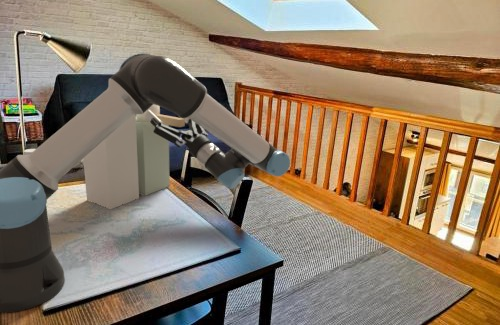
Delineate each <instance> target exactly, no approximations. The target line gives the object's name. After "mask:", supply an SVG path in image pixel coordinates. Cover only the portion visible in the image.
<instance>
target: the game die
mask: <svg viewBox="0 0 500 325" xmlns="http://www.w3.org/2000/svg"><path fill="white" fill-rule="evenodd" d="M78 168H84V161H83V159H82V160H81V161H80V162H79V163H77V164H76V165H75V166H74V167H73V168H72V169H71V170H72V171H74V170H75V169H78Z"/></svg>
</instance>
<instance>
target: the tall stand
mask: <svg viewBox="0 0 500 325" xmlns="http://www.w3.org/2000/svg"><path fill="white" fill-rule="evenodd" d="M80 112H81V111H79V112H78V113H80ZM83 161H84V167H83V170H84V171H83V172H84V180H85V182H84V183H85V192H86V201H88V200H89V201H88V202H90V201H92V202H91V203H93V202H94V203H93V204H95V203H97V204H96V205H98V204H99V205H98V206H100V205H101V207H103V206H104V208H105V207H106V208H105V209H108V210H112V209H115V208H117V206H118V207H120V206H123V205H125V204H127V203H130V202H133V201H136V200H138V199H140V193H139V184H138V161H137V138H136V114H133V115H132V116H131V117H129V118H128V119H127V120H126V121H125V122H124V123H123V124H122V125H120V126H119V127H118V128H117V129H116V130H115V131H114V132H112V133H111V134H110V135H109V136H108V137H107V138H106V139H105V140H103V141H102V142H101V143H100V144H99V145H98V146H97V147H96V148H94V149H93V150H92V151H91V152H90V153H89V154H88V155H86V156H85V157H84V158H83ZM135 199H136V200H135ZM122 204H123V205H122ZM114 207H115V208H114Z"/></svg>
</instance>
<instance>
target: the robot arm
mask: <svg viewBox="0 0 500 325" xmlns="http://www.w3.org/2000/svg"><path fill="white" fill-rule="evenodd" d="M153 104H155V105H158V106H160V107H161V108H163V109H164V110H168V111H170V112H171V113H174V114H175V115H177V116H178V118H183V119H185V124H187V125H188V129H189V130H182V129H179V130H178V129H176V128H173V127H172V126H170V125H169V126H166V125H164V124H162V121H161V120H160V119H159V118H158V117H157V116H156V115H155V114H154V113H153V112H151V111H150V110H148V109H149V108H150V107H151V106H152V105H153ZM146 110H148V111H147V114H146V116H145V117H146V118H147V119H148V120H149V121H150V122H151V124H152V125H153V126H154V127H155V129H154V131H153V132H154V133H155V134H157V135H159V136H161V137H162V138H164V139H166V140H168V141H169V143H172V144H174V146H176V147H177V148H179V149H180V148H182V146H183V145H184V146H186V147H187V150H188V153H189V154H191V155H192V156H193V157H194V158H195V159H196V160H197V161H198V163H200V164H201V165H202V166H203V168H205V169H206V170H207V171H208V172H209V173H210V174H211V175H212V176H214V178H215V179H216V180H217V182H219V183H221V184H222V185H223V186H224V187H225V188H227V189H229V190H230V189H234V188H235V187H237V186H238V185H239V184H240V183H241V182H242V181H243V179H244V177H245V175H246V174H245V172H244V169H245V168H246V167H248V165H251V166H252V167H255V168H256V169H257V168H258V169H259V170H261V171H263V172H265V173H267V174H268V175H270V176H273V177H278V178H279V177H282V176H284V175H285V174H286V173H287V172H288V170H289V168H290V165H291V159H290V156H289V155H288V153H286V152H284V151H283V150H280V149H277V148H276V147H275V146H273V145H272V144H270V143H269V142H268V141H267V140H265V138H263V137H262V136H261V135H260V134H259V133H257V132H256V131H254V130H253V129H252V128H250V126H249V125H247V124H246V123H245V122H243V121H242V120H241V119H239V118H238V117H237V116H236V115H234V114H233V113H232V112H231V111H229V110H228V109H227V108H226V107H225V106H224V105H223V104H221V103H220V102H218V101H217V100H216V99H214V98H213V97H212V96H211V95H209V93H208V89H207V88H206V86H205V85H204V84H203V83H202V82H200V81H199V80H197V79H196V77H195V76H193V75H192V74H191V73H190V72H188V70H186V69H185V68H184V67H183V66H181V65H180V64H179V63H177V62H176V61H175V60H173V59H172V58H169V57H167V56H164V55H163V56H162V55H155V54H154V55H153V54H149V53H137V54H134V55H131V56H128V58H126V59H125V60H124V61H123V62H121V65H120V67H119V69H118V71H117V72H115V73H114V74H113V75H111V76H110V78H108V87H107V88H106V90H104V91H103V92H102V93H101V94H100V95H99V96H97V97H96V98H95V99H93V101H91V102H90V103H89V104H88V105H87V106H85V107H84V108H83V109H81V111H79V112H80V113H79V112H78V113H77V114H76V115H75V116H73V117H72V118H71V119H70V120H69V121H68V122H66V123H65V124H64V125H63V126H62V127H61V128H59V129H58V130H57V131H56V132H55V133H53V134H52V135H51V136H50V137H48V139H46V140H45V141H44V142H43V143H41V144H40V145H39V146H38V147H36V148H35V149H36V150H34V151H33V152H32V153H31V154H29V155H24V154H17V155H16V156H15V157H14V158H13V159H11V160H10V161H9V162H8V163H7V164H5V165H1V166H0V313H14V312H15V313H16V312H21V311H26V310H29V309H32V308H34V307H37V306H40V305H42V304H43V303H45V302H47V301H49V300H51V299H52V298H53V297H55V296H56V295H57V294H58V293H59V292H60V291H61V290H62V288H63V287H64V285H65V282H66V281H65V280H66V279H65V271H64V268H63V266H62V265H61V263H60V261H59V259H58V258H57V256H56V254H55V253H54V251H53V249H52V248H53V247H52V241H51V240H52V238H51V234H50V233H51V232H50V224H49V215H48V208H47V203H48V202H47V200H48V199H49V198H51V196H52V195H54V194H55V193H56V192H57V191H58V190H59V181H60V179H63V177H64V176H65V175H67V173H69V172H70V171H71V170H72V169H73V167H74V166H75V165H76V164H77V163H79V162H80V161H81V160H82V159H83V158H84V157H85V156H86V155H88V154H89V153H90V152H91V151H92V150H93V149H94V148H96V147H97V146H98V145H99V144H100V143H101V142H102V141H103V140H105V139H106V138H107V137H108V136H109V135H110V134H111V133H112V132H114V131H115V130H116V129H117V128H118V127H119V126H120V125H122V124H123V123H124V122H125V121H126V120H127V119H128V118H129V117H131V116H132V115H133V114H143V113H144V112H145V111H146ZM207 132H208V133H210V134H211V135H212V136H214V137H215V138H217V139H218V140H219V141H221V142H222V143H223V144H225V145H227V146H228V147H230V148H231V149H230V150H228V151H227V152H226V153H224V152H223V150H221V149H220V148H219V147H218V145H216V144H214V143H213V142H212V140H210V138H208V136H209V134H208V133H207Z"/></svg>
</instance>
